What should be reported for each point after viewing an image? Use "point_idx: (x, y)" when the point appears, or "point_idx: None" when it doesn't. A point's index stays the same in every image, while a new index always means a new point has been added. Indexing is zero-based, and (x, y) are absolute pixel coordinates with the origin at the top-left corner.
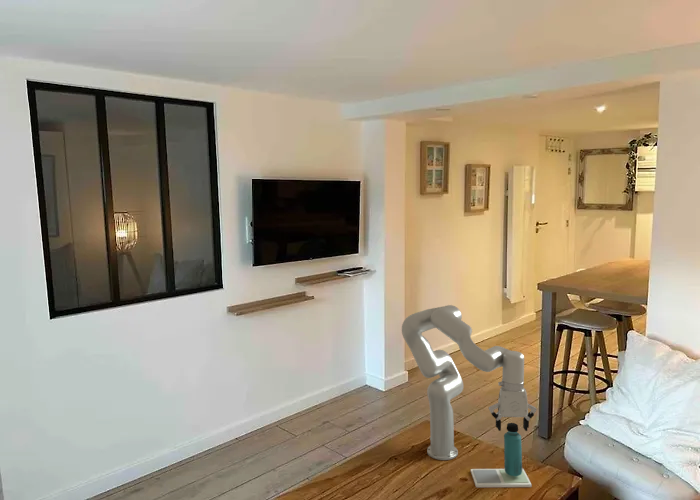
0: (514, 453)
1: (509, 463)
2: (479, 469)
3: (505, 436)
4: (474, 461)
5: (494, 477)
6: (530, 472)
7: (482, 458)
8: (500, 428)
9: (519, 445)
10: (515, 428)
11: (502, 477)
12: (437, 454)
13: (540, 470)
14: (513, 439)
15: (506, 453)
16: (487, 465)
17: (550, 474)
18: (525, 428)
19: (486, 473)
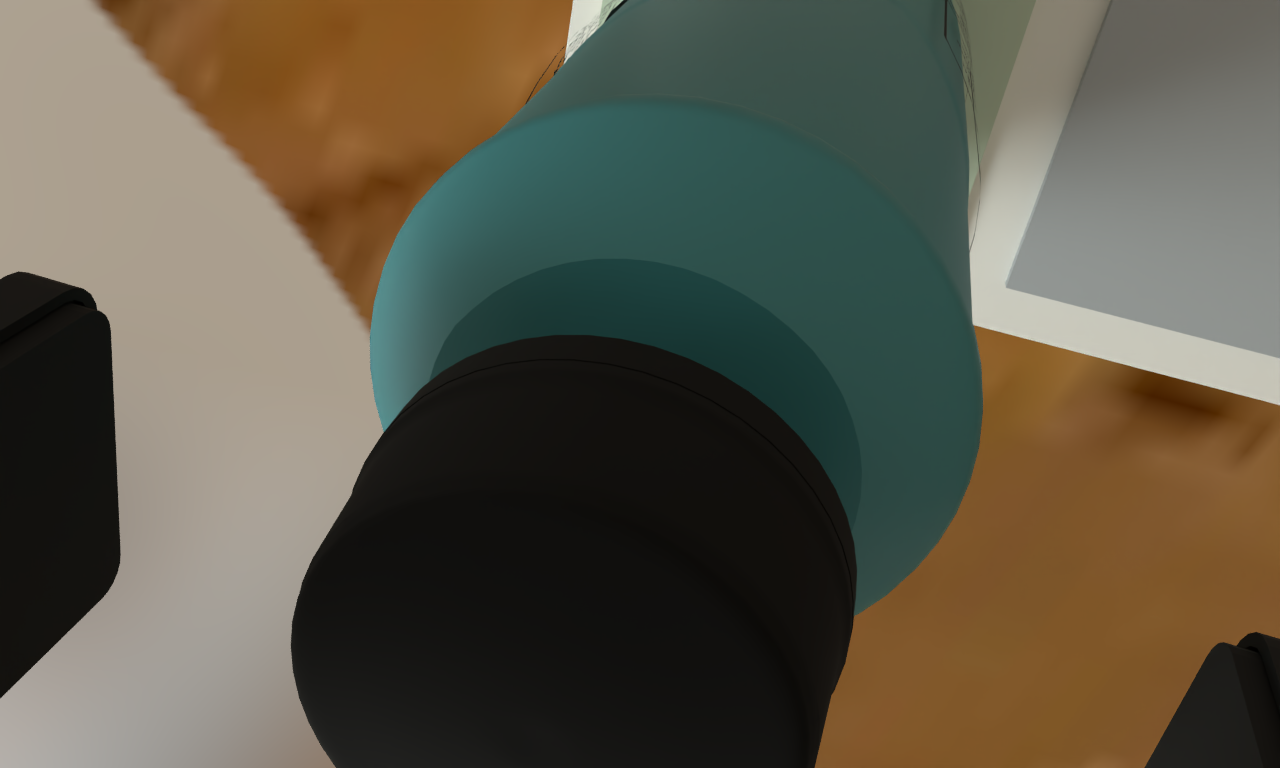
0: (802, 4)
1: (930, 10)
2: (1261, 384)
3: (955, 442)
4: (1137, 626)
5: (1181, 66)
6: (463, 134)
7: (972, 650)
8: (1271, 718)
9: (586, 63)
10: (505, 443)
11: (1019, 48)
12: None
13: (301, 146)
14: (769, 148)
15: (963, 153)
16: (1007, 483)
17: (196, 4)
18: (27, 348)
19: (1242, 225)
